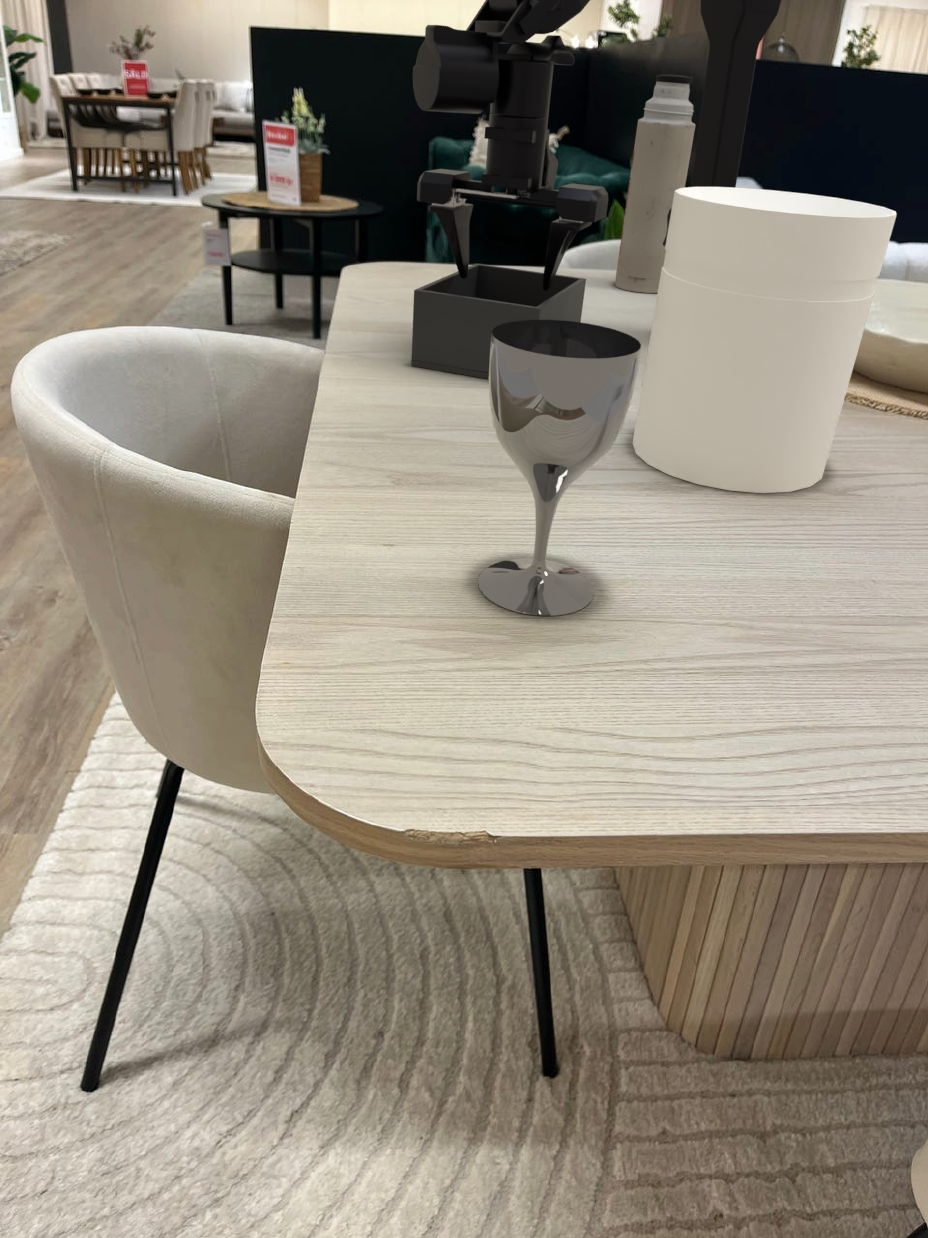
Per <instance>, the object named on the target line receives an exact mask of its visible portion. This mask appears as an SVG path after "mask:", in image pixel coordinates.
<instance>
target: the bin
mask: <svg viewBox="0 0 928 1238" xmlns="http://www.w3.org/2000/svg"><path fill="white" fill-rule="evenodd" d="M543 274H544V272H539V271H533V270H525V269H519V268H512V267H504V266H498V265H489V264H483V263H474V264H472V265H469V266H468V275H467V278H465V279H462V278H461V277H460V275H459V272H458V270H457V271H456V272H455V271H454V272H453V273H451V274H448V275H446V276H443V277H441V278H439V279H437V280H434V281H432V282H429V283H426V284H424V285H422V286H420V287H418V288H416V289H413V306H412V307H413V309H412V334H411V335H412V336H411V339H412V340H411V361H410V365H411V367H417V368H422V369H428V370H435V371H438V372H439V371H440V372H444V373H445V372H446V373H451V374H457V375H463V376H469V377H474V378H480V379H486V380H489V355H490V343H491V334H492V330H493V329H494V328H495V327H497V326H498V325H501V324H504V323H508V322H514V321H522V320H561V321H572V322H581V323H582V315H583V308H584V307H583V306H584V298H585V290H586V285H587V284H586V283H587V278H585V277H576V276H569V275H563V274H557V273H556V274H555V277H554V279H553V281H552V284H551V286H550V288H549V290H547V291H545V290H543Z"/></svg>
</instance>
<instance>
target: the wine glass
mask: <svg viewBox="0 0 928 1238" xmlns="http://www.w3.org/2000/svg"><path fill="white" fill-rule="evenodd" d="M641 349H642V344H641V342H640V341H639V339H637V338H636V337H633V336H632V335H630V334H628V333H626V332H623V331H620V330H618V329H615V328H610V327H606V326H603V325H597V324H593V323H592V324H591V323H586V322H582V321H581V322H572V321H561V320H522V321H514V322H508V323H504V324H501V325H498V326H497V327H495V328H494V329H493V330H492V334H491V343H490V355H489V379H488V390H489V391H488V392H489V406H490V412H491V413H490V414H491V420H492V425H493V429H494V432H495V436H496V438H497V440H498V441H499V444H500V446H501V447H502V449H503V450H504V452H505V453H506V454H507V455H508V457H509V458H510V460H511V461H512V462H513V464H514V465H515V466H516V468H517V469H518V470H519V472H520V473H521V475H523V477H524V479H525V480H526V482H527V484H528V487H529V488H530V491H531V493H532V496H533V500H534V509H535V510H534V511H535V513H534V514H535V532H534V533H535V536H534V548H533V555H532V558H528V557H527V558H526V557H525V558H511V559H506V560H501V561H498V562H495V563H493V564H491V565H489V566H487V567H485V569H484V570H483V571H482V572H481V573H480V574H479V576H478V579H477V580H478V581H477V582H478V588H479V590H480V592H481V593H482V595H483V596H484V597H486V598H487V599H488V600H489V601H491V602H492V603H494V604H495V605H497V606H500V607H502V608H504V609H506V610H509V611H512V612H516V613H519V614H524V615H530V616H541V617H542V616H543V617H552V616H553V617H555V616H556V617H557V616H562V615H563V616H564V615H569V614H572V613H575V612H579V611H580V610H583V609H584V608H586V607H587V606H589V605H590V604H591V602H593V599H594V597H595V589H594V585H593V583H592V582H591V580H590V579H589V578H588V577H587V576H586V575H584V574H583V573H582V572H580V571H579V570H577V569H575V568H573V567H571V566H570V565H569V566H568V565H566V564H564V563H560V562H556V561H552V560H548V559H547V554H548V547H549V546H548V545H549V541H550V540H549V538H550V534H551V530H552V527H553V526H552V525H553V522H554V519H555V515H556V511H557V508H558V505H559V502H560V501H561V499H562V498H563V496H564V495H565V493H566V491H567V490H568V489H569V488H570V487H571V486H572V485H573V484H574V483H575V482H576V481H577V480H578V479H579V478H581V477H582V476H583V475H584V474H586V473H587V472H588V471H589V470H590V469H592V468H593V467H594V466H595V465H597V464H598V463H599V462H600V461H601V460H603V458H604V457H605V456H606V455H607V454H608V453H609V452H610V451H611V449H612V447H613V446H614V444H615V443H616V441H617V439H618V437H619V434H620V432H621V430H622V427H623V425H624V422H625V421H626V417H627V414H628V411H629V408H630V405H631V401H632V398H633V396H634V395H633V394H634V390H635V386H636V381H637V376H638V371H639V364H640V357H641Z"/></svg>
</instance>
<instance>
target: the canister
mask: <svg viewBox="0 0 928 1238" xmlns="http://www.w3.org/2000/svg"><path fill="white" fill-rule="evenodd" d="M896 218H897V211H896V210H893V209H890V208H888V207H886V206H881V205H877V204H872V203H868V202H863V201H857V200H851V199H846V198H840V197H833V196H826V195H820V194H819V195H818V194H812V193H811V194H810V193H803V192H794V191H793V192H792V191H784V190H773V189H760V188H751V187H750V188H748V187H736V188H732V187H691V186H688V187H686V186H685V188H679V189H677V190H675V192H674V198H673V204H672V210H671V216H670V222H669V228H668V234H667V240H666V246H665V250H666V254H665V260H664V266H663V267H662V270H661V276H660V282H659V288H658V293H656V294H657V295H656V299H655V306H654V311H653V313H654V314H653V317H652V318H653V319H652V324H651V329H650V330H651V331H650V336H649V342H648V347H647V354H646V360H645V366H644V372H643V378H642V383H641V390H640V396H639V401H638V407H637V413H636V420H635V425H634V432H633V438H632V446H633V450H634V453H635V454H636V455H637V456H638V457H639V458H640V459H641V460H643V462H645V463H646V464H647V465H649V466H651V468H654V469H655V470H656V469H657V470H658V471H660V472H663V473H664V474H665V475H666V474H667V475H669V476H671V477H674V478H677V479H679V480H683V481H686V482H689V483H692V484H696V485H699V486H703V487H710V488H714V489H719V490H720V489H721V490H724V491H731V492H743V493H744V492H745V493H755V494H756V493H757V494H773V493H791V492H794V491H799V490H803V489H806V488H811V487H813V486H814V485H816V483H818V482H819V481H821V480H822V479H823V476H824V473H825V469H826V465H827V463H828V459H829V455H830V452H831V447H832V444H833V442H834V437H835V434H836V430H837V428H838V423H839V420H840V416H841V412H842V409H843V406H844V402H845V398H846V395H847V392H848V388H849V384H850V381H851V377H852V374H853V371H854V366H855V363H856V360H857V357H858V352H859V349H860V346H861V342H862V338H863V334H864V331H865V328H866V323H867V321H868V317H869V313H870V310H871V307H872V304H873V300H874V296H875V295H874V294H875V293H874V291H875V286H876V284H877V280H878V277H880V275H881V271H882V268H883V264H884V260H885V257H886V254H887V250H888V247H889V244H890V239H891V236H892V233H893V229H894V226H895V223H896Z"/></svg>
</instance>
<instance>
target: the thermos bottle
mask: <svg viewBox="0 0 928 1238" xmlns="http://www.w3.org/2000/svg"><path fill="white" fill-rule="evenodd" d="M655 81H656V82H655V85H654V88H653V95H652V97H651V98H650V99H648V100H647V101H646V102H645V106H644V108H643V110H644V111H643V112H644V113H643V117H641V118H638V120H637V125H636V133H635V139H634V149H633V155H632V161H631V167H630V174H629V175H630V176H629V182H628V187H627V195H626V203H625V210H624V216H623V222H622V223H623V224H622V229H621V230H622V231H621V237H620V244H619V251H618V259H617V265H616V272H615V280H614V286H615V287H617V288H618V289H621V290H624V291H629V292H635V293H643V294H658V288H659V282H660V276H661V270H662V267H663V266H664V260H665V254H666V250H665V246H663V242H664V239H665V237H666V233H667V215H668V212H669V210H670V209H671V208H672V204H673V198H674V192H675V190H677V189H679V188H686V182H687V177H688V172H689V171H688V170H689V167H690V166H689V165H690V159H691V154H692V147H693V142H694V138H695V137H694V136H695V131H696V123H694V122H693V121H692V117H693V115H694V114H693V113H695V110H694V104H693V103H692V102H691V101H690V99H689V98H690V92H691V89H690V85H691V84H692V83H693V77H690V76H686V75H681V74H657V75H656V78H655Z"/></svg>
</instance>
